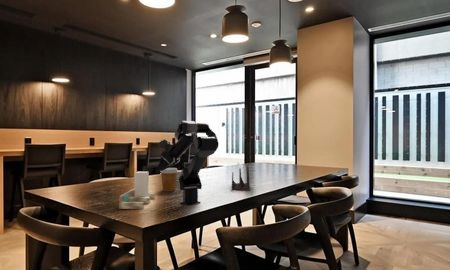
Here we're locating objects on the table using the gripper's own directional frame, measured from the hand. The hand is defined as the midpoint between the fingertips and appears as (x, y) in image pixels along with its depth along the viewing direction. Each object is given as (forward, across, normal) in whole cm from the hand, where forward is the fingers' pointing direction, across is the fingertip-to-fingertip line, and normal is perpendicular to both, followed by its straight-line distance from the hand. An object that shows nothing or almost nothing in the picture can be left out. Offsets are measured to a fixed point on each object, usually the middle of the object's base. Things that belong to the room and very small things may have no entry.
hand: (158, 170), depth 135 cm
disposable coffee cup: (+9, -28, +8) cm, 30 cm away
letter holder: (-18, -38, +37) cm, 56 cm away
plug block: (+15, 0, +4) cm, 16 cm away
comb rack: (+15, +5, +4) cm, 17 cm away
